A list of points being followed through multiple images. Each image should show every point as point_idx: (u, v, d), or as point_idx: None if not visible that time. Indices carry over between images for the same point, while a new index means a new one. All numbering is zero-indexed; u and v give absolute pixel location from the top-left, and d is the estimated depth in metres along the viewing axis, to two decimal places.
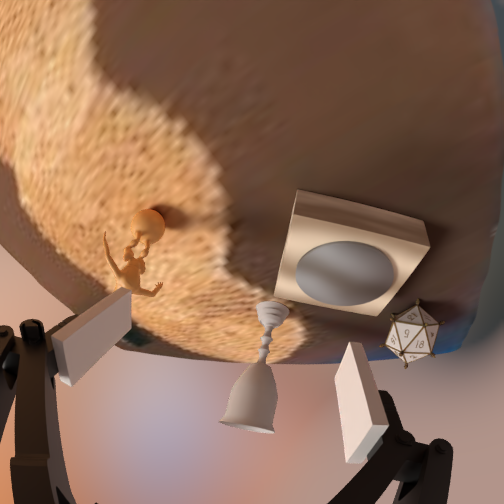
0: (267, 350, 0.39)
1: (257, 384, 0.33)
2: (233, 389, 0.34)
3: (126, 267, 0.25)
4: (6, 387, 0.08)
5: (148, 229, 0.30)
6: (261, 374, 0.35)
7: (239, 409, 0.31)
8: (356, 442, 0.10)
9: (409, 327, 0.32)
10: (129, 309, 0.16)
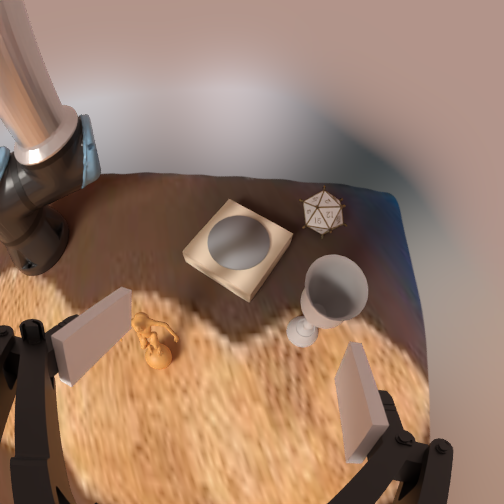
0: None
1: None
2: (306, 316, 0.31)
3: None
4: (6, 387, 0.08)
5: None
6: None
7: (306, 291, 0.30)
8: (356, 442, 0.10)
9: (306, 211, 0.50)
10: (129, 309, 0.16)
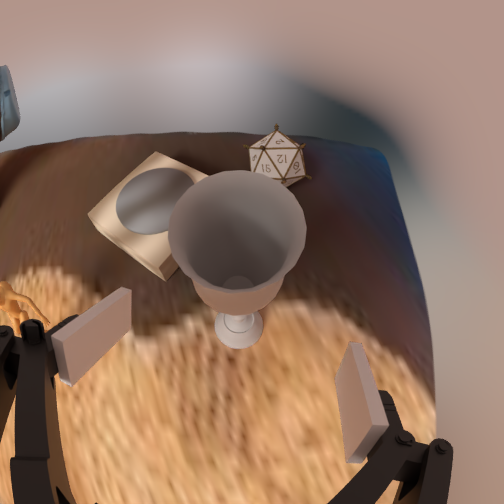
0: None
1: None
2: (196, 291, 0.17)
3: None
4: (6, 387, 0.08)
5: None
6: None
7: None
8: (356, 442, 0.10)
9: (251, 159, 0.36)
10: (129, 309, 0.16)
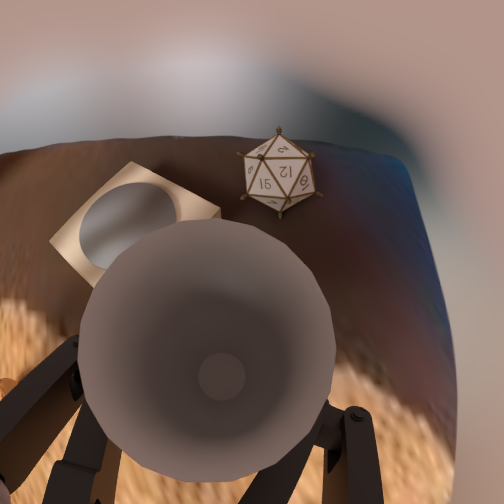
0: None
1: None
2: (153, 402, 0.10)
3: None
4: (70, 398, 0.09)
5: (0, 381, 0.17)
6: None
7: None
8: None
9: (247, 171, 0.28)
10: None
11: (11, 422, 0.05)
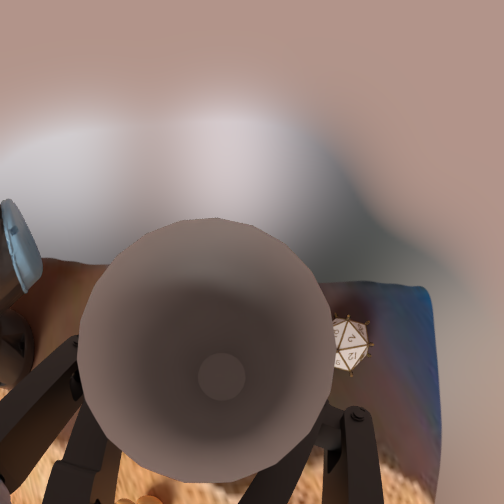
0: None
1: None
2: (153, 403, 0.10)
3: None
4: (70, 398, 0.09)
5: (143, 501, 0.25)
6: None
7: None
8: None
9: None
10: None
11: (11, 422, 0.05)
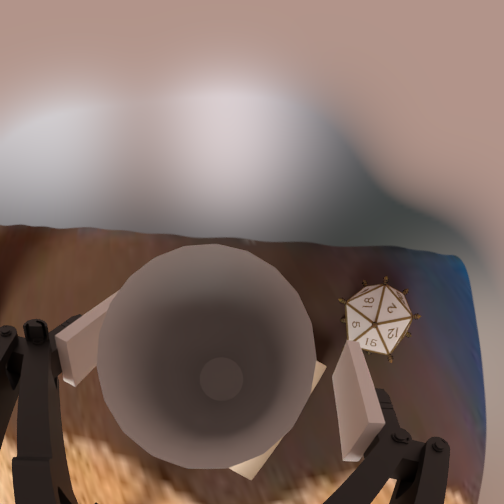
0: None
1: None
2: (159, 402, 0.11)
3: None
4: (9, 387, 0.08)
5: None
6: None
7: None
8: (353, 440, 0.10)
9: (350, 322, 0.27)
10: None
11: None
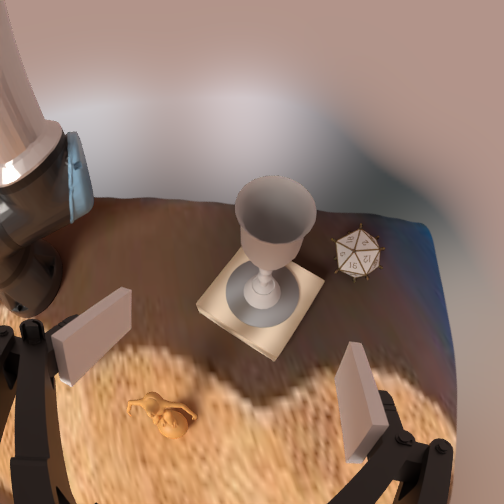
0: None
1: None
2: (245, 251, 0.27)
3: None
4: (6, 387, 0.08)
5: None
6: None
7: None
8: (356, 442, 0.10)
9: (339, 253, 0.42)
10: (129, 309, 0.16)
11: None
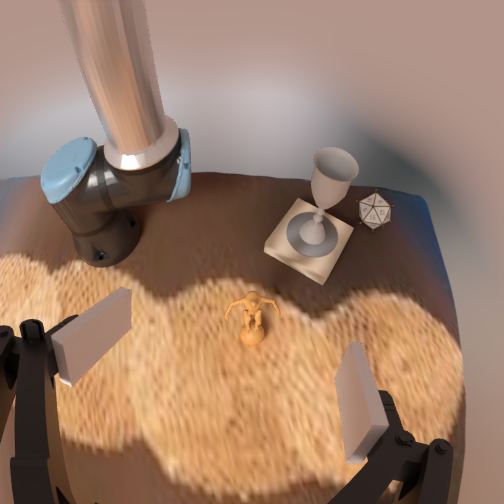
0: (318, 207, 0.49)
1: None
2: (315, 191, 0.42)
3: None
4: (6, 387, 0.08)
5: (249, 323, 0.46)
6: None
7: (314, 169, 0.41)
8: (356, 442, 0.10)
9: (362, 210, 0.58)
10: (129, 309, 0.16)
11: None
